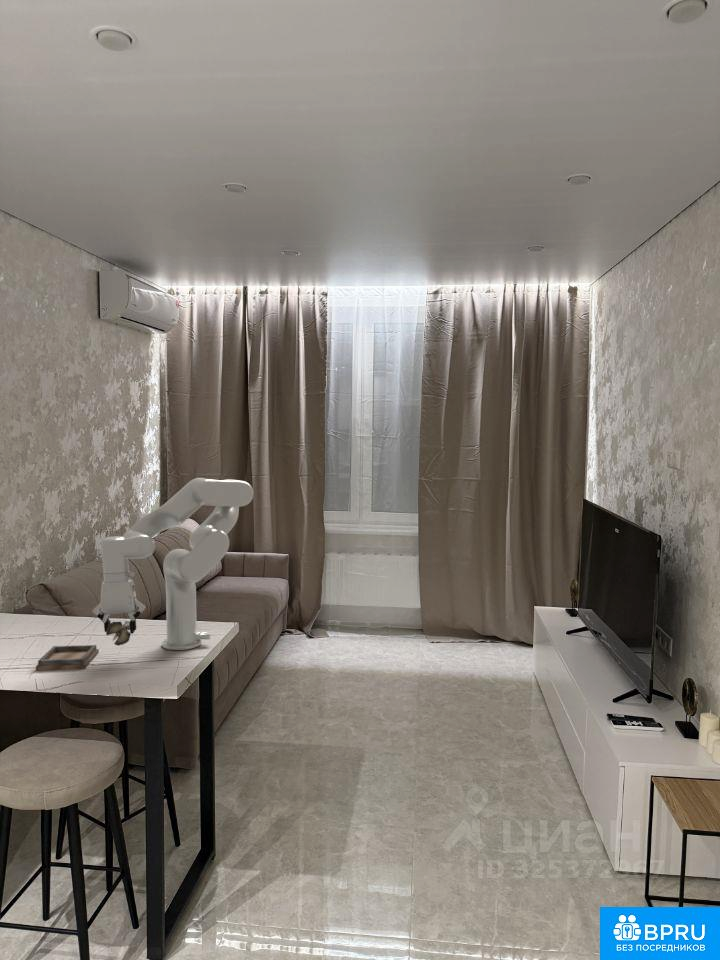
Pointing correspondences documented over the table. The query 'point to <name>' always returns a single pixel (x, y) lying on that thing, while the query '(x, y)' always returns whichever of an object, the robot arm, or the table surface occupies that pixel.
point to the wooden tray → (67, 657)
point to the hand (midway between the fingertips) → (120, 632)
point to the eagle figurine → (119, 632)
